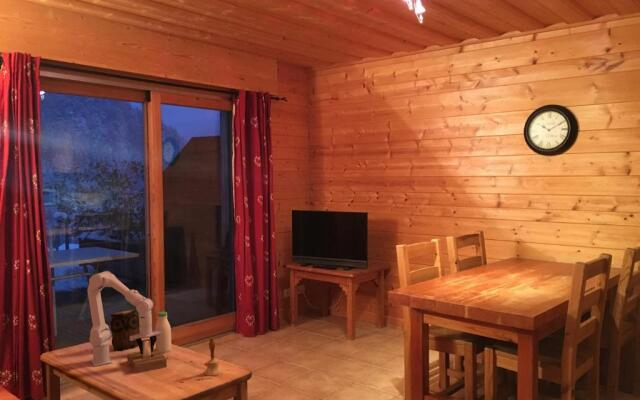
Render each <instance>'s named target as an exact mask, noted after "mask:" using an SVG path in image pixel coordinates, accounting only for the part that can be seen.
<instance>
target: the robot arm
mask: <svg viewBox="0 0 640 400" xmlns="http://www.w3.org/2000/svg"><path fill="white" fill-rule="evenodd" d="M88 281H89V283H88V286H87V297H88V304H89V308H90V309H89V310H90V315H91V323H92V327H91V328H90V330H89V331H90V332H89V333H90V336H89V343H90V344H91V346H92V359H91V360H90V361H91V363H92V366H94V367H97V366H102V365H108V364H112V360H111V358H110V340H111V339H112V330H111V329H110V328H109V324H106V321H105V315H104V308H103V301H102V297H101V294H102V293H101V291H102V290H103V289H104V288H112V289H114V290H116V292H119V293H121V294H122V295H123V296H124V298H125V300H126V301H127V302H128V303H130V304H131V305H132V306H134V307H135V309H136V310H137V311H136V312H138V313H137V314H138V317H139V325H138V326H139V327H138V329H139V330H140V334H136V335H133V336H130V341H133V340H136V342H137V344H138V348H139V351H140V353H141V354H143V348H142V347H143V341H142V340H144V339H150V340H151V353H152V352H153V349H155V348H154V347H155V346H156V340H157V337H156V336H162V332H161V331H155V330H154V331H153V321H152V320H153V317H152V309H153V308H154V302H153V300H152V299H151V298H147V297H145V296H143V295H141V294H140V293H139V291H138V290H135V289H129V288H128V287H127V286H126V285H124V283H122V281H120V280H119V279H118V278H117V277H116V275H115V274H113V273H112V272H110V271H109V270H104V271H103V272H99V273H95V274H93V275H92V276H91V277H90V278H89V279H88Z"/></svg>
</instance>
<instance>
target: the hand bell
mask: <svg viewBox="0 0 640 400" xmlns="http://www.w3.org/2000/svg"><path fill="white" fill-rule="evenodd" d="M208 348H209V351H210V359H209V360H208V361H207V364H206V366H207V367H206V369H205V370H204V372H203V374H204V376H208V377H215V376H218V375H221V374H222V373H223V370H222V368H221V367H220V366H219V361H218V359H216V358H215V349H216V343H215V340H214V337H210V338H209V344H208Z"/></svg>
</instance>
